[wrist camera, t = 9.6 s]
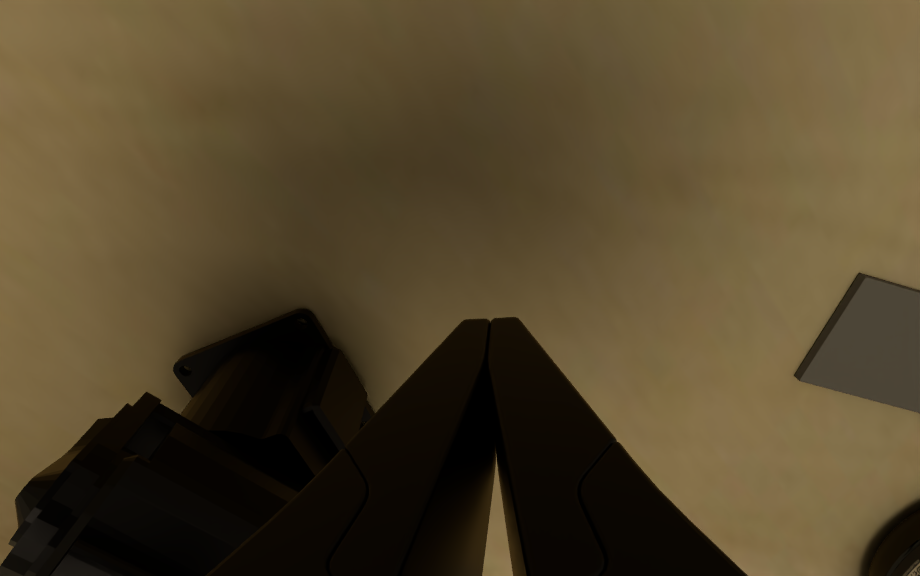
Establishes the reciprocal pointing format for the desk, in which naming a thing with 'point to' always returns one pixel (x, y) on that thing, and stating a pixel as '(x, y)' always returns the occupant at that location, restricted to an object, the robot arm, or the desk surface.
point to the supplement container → (899, 550)
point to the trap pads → (870, 345)
